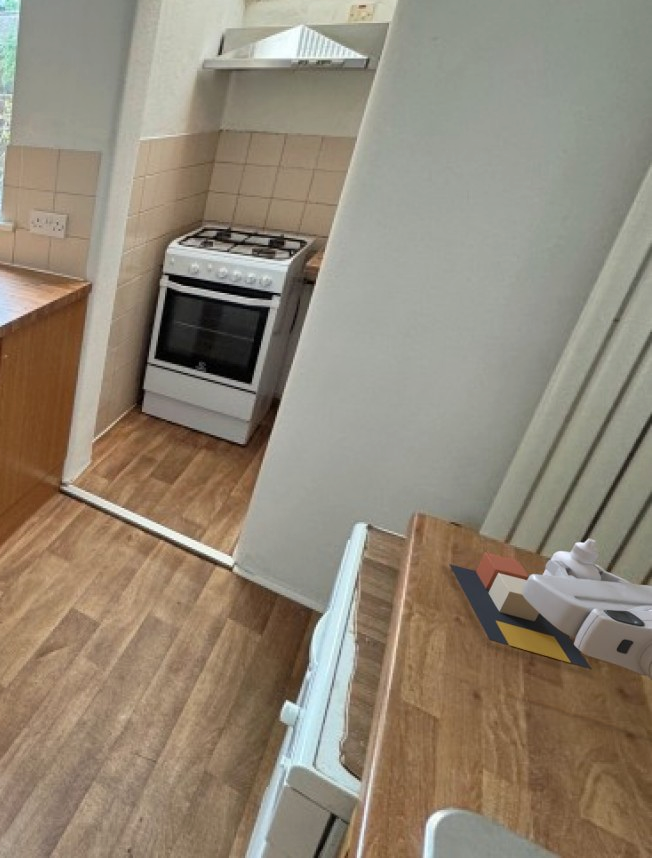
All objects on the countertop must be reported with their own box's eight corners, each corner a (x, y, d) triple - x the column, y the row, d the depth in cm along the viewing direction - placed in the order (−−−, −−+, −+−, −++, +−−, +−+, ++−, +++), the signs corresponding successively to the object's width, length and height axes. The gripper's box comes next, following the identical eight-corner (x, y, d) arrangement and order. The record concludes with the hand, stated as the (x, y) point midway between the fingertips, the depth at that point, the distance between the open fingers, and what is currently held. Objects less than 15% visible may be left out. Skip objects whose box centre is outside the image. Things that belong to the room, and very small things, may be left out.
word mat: (533, 588, 105) (535, 585, 105) (590, 672, 90) (592, 669, 90) (447, 566, 110) (449, 563, 110) (488, 642, 95) (490, 639, 94)
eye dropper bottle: (572, 598, 91) (608, 536, 87) (582, 622, 87) (619, 558, 83) (533, 585, 94) (565, 523, 89) (540, 608, 89) (574, 544, 85)
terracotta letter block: (507, 579, 106) (517, 559, 105) (519, 597, 102) (529, 577, 101) (475, 571, 108) (484, 551, 106) (485, 588, 104) (495, 568, 103)
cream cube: (522, 601, 102) (532, 581, 100) (534, 621, 98) (545, 600, 96) (488, 592, 103) (498, 572, 102) (499, 611, 100) (509, 591, 98)
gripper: (775, 636, 74) (659, 556, 86) (589, 616, 76) (503, 541, 89) (748, 673, 76) (638, 589, 89) (568, 652, 78) (487, 574, 91)
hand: (569, 565), depth 89 cm, fingers closed on eye dropper bottle, 3 cm apart
